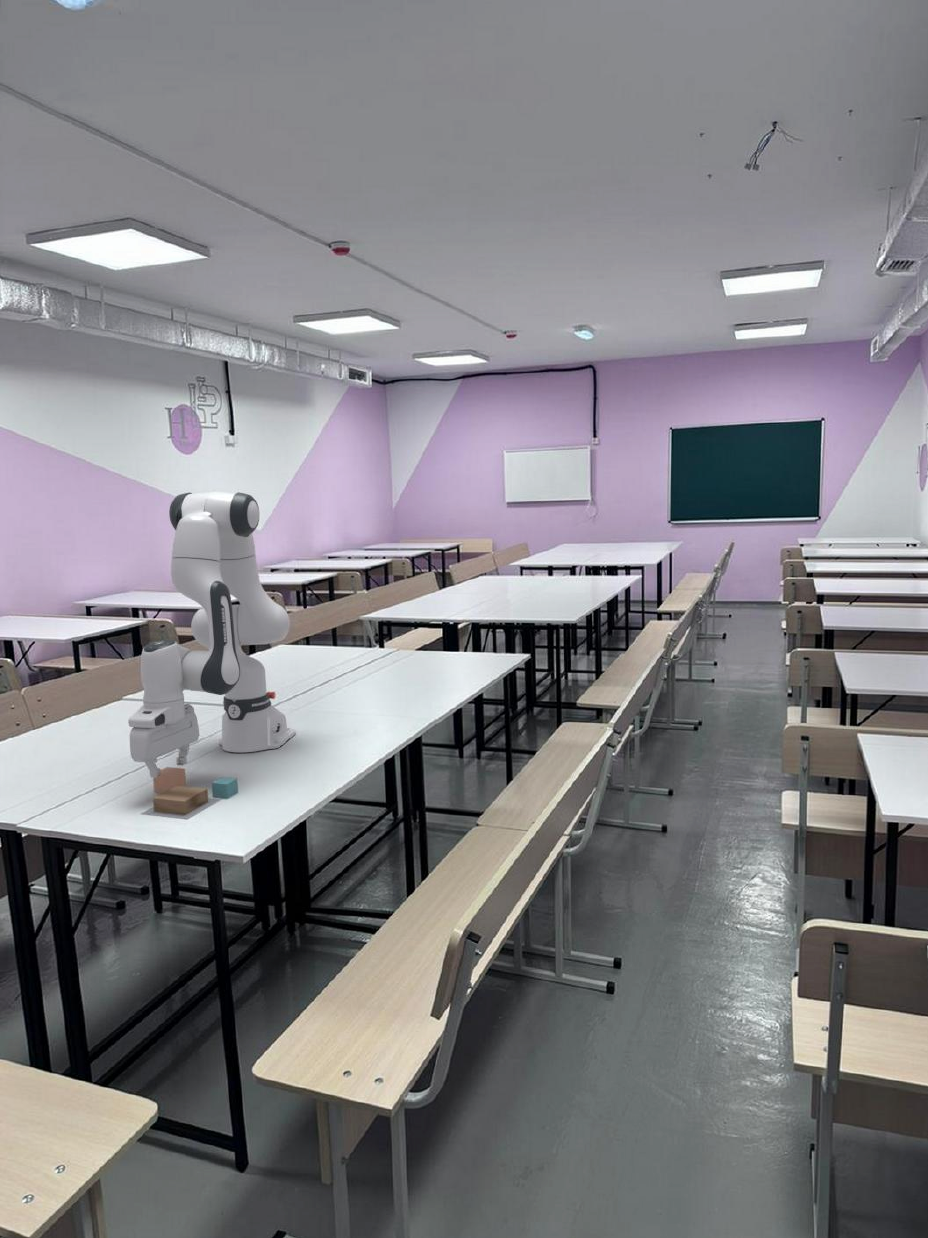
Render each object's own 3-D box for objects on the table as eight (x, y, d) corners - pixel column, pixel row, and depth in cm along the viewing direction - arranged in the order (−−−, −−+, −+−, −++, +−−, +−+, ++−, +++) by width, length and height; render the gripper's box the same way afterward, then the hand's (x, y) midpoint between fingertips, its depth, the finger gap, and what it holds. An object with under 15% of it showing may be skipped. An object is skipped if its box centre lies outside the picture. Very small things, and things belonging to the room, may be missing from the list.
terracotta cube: (168, 787, 198) (166, 767, 197) (186, 789, 196) (184, 768, 196) (154, 794, 193) (152, 773, 193) (172, 796, 192) (170, 775, 191)
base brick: (178, 798, 188) (177, 785, 188) (208, 801, 186) (207, 788, 185) (154, 811, 181) (153, 798, 180) (185, 815, 178) (184, 801, 178)
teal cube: (223, 793, 193) (222, 777, 192) (238, 795, 191) (237, 778, 191) (212, 800, 189) (211, 782, 188) (228, 801, 188) (226, 784, 187)
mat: (176, 797, 191) (176, 794, 191) (221, 802, 187) (221, 799, 187) (140, 816, 180) (140, 814, 180) (187, 822, 176) (187, 819, 176)
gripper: (181, 701, 202) (185, 757, 204) (122, 721, 183) (127, 782, 185) (203, 702, 201) (207, 758, 202) (146, 722, 181) (151, 784, 183)
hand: (168, 770), depth 193 cm, fingers open, 8 cm apart
